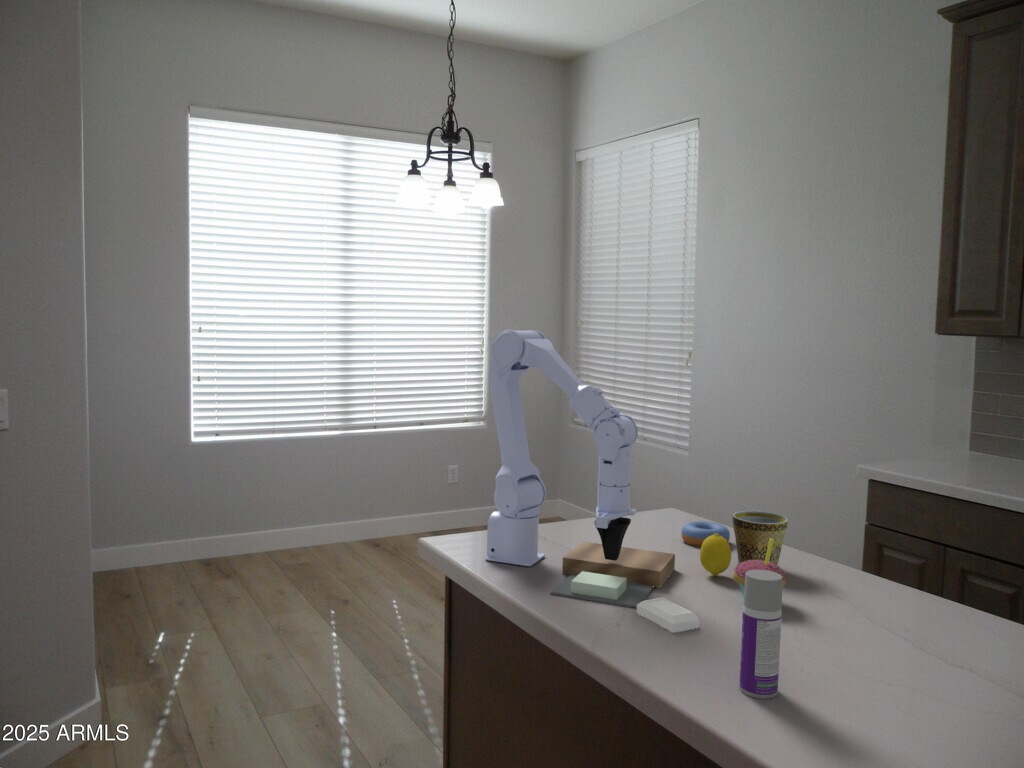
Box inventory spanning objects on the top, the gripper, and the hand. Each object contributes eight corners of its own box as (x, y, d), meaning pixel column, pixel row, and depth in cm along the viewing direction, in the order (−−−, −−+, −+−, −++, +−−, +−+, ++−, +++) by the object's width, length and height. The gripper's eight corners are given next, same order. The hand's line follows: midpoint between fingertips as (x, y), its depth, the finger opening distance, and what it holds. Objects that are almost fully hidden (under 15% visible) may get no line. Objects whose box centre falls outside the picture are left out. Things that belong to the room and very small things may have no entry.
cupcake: (793, 603, 137) (797, 532, 136) (770, 615, 131) (774, 542, 130) (746, 590, 143) (749, 522, 142) (722, 602, 137) (725, 531, 136)
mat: (550, 594, 139) (550, 591, 139) (571, 575, 149) (571, 573, 149) (637, 608, 133) (637, 605, 133) (653, 588, 143) (653, 586, 143)
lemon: (727, 572, 153) (729, 530, 152) (732, 581, 148) (734, 538, 147) (697, 570, 154) (699, 528, 153) (701, 580, 148) (703, 536, 148)
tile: (582, 571, 144) (581, 582, 144) (571, 581, 139) (570, 592, 139) (626, 577, 141) (626, 589, 141) (617, 588, 135) (616, 600, 136)
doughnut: (722, 535, 179) (721, 515, 178) (736, 550, 169) (735, 529, 168) (677, 539, 179) (676, 518, 178) (688, 555, 169) (687, 533, 168)
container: (733, 682, 106) (739, 569, 105) (768, 681, 107) (774, 569, 106) (747, 699, 102) (752, 580, 101) (783, 698, 102) (789, 580, 101)
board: (562, 573, 150) (562, 557, 150) (583, 556, 161) (583, 541, 161) (659, 588, 143) (660, 571, 143) (674, 569, 154) (675, 553, 154)
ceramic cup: (792, 577, 151) (795, 524, 150) (737, 576, 151) (740, 522, 150) (771, 557, 164) (773, 507, 163) (721, 555, 164) (723, 506, 163)
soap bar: (672, 635, 123) (673, 618, 123) (636, 615, 131) (637, 599, 131) (698, 630, 125) (699, 613, 125) (661, 611, 133) (661, 595, 133)
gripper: (625, 493, 138) (622, 573, 139) (646, 479, 151) (643, 551, 152) (584, 489, 140) (582, 567, 141) (609, 475, 154) (606, 546, 155)
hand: (611, 558), depth 147 cm, fingers closed
